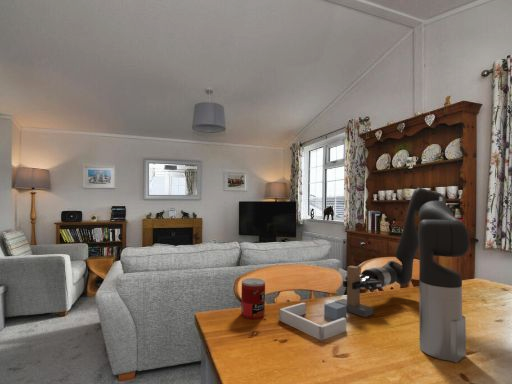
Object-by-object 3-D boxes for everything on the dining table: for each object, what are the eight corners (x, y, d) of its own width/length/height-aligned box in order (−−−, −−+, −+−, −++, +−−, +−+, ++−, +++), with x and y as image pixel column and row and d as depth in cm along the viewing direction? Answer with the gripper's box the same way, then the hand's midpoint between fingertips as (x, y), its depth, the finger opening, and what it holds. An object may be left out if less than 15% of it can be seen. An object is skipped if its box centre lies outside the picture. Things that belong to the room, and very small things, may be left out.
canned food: (255, 321, 91) (256, 285, 92) (236, 315, 96) (236, 281, 97) (269, 314, 97) (269, 280, 98) (250, 308, 102) (251, 276, 103)
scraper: (373, 314, 99) (373, 269, 100) (364, 317, 96) (364, 270, 96) (343, 304, 108) (343, 263, 109) (334, 306, 105) (334, 264, 106)
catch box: (346, 330, 86) (346, 318, 86) (321, 340, 79) (321, 327, 79) (303, 312, 99) (303, 302, 99) (279, 320, 93) (279, 309, 93)
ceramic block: (346, 318, 96) (346, 305, 96) (337, 321, 93) (337, 309, 93) (333, 313, 100) (333, 301, 100) (324, 316, 97) (324, 304, 97)
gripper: (359, 264, 117) (331, 270, 106) (393, 271, 106) (366, 278, 95) (359, 284, 117) (331, 291, 106) (394, 292, 105) (366, 301, 95)
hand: (348, 285), depth 101 cm, fingers closed on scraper, 3 cm apart
